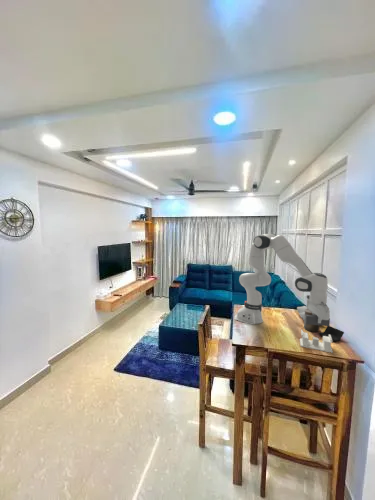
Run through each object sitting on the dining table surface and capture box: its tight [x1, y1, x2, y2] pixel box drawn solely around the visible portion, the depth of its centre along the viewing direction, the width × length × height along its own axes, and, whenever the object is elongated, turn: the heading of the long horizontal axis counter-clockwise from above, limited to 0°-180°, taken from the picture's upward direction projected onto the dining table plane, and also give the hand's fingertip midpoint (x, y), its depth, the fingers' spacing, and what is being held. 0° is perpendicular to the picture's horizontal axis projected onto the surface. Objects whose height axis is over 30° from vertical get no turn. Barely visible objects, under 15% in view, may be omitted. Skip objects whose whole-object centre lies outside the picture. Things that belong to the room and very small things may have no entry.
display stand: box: [299, 329, 333, 354], centre depth 136 cm, size 17×10×8 cm, turn 65°
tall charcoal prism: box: [305, 314, 331, 327], centre depth 135 cm, size 13×3×5 cm, turn 77°
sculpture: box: [296, 305, 308, 321], centre depth 180 cm, size 25×19×10 cm
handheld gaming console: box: [318, 325, 345, 342], centre depth 148 cm, size 11×10×4 cm
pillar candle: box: [303, 309, 320, 333], centre depth 161 cm, size 10×10×15 cm
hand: (316, 321), depth 135 cm, fingers closed on tall charcoal prism, 3 cm apart
